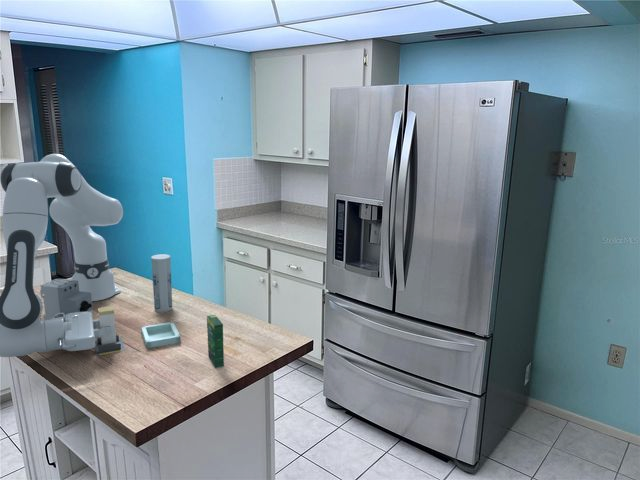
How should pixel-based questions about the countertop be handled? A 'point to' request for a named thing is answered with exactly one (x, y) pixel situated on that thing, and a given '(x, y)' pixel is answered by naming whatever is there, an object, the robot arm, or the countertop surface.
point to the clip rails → (109, 346)
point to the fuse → (107, 324)
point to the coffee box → (215, 341)
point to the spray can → (162, 282)
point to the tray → (160, 334)
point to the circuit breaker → (64, 298)
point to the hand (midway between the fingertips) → (110, 325)
